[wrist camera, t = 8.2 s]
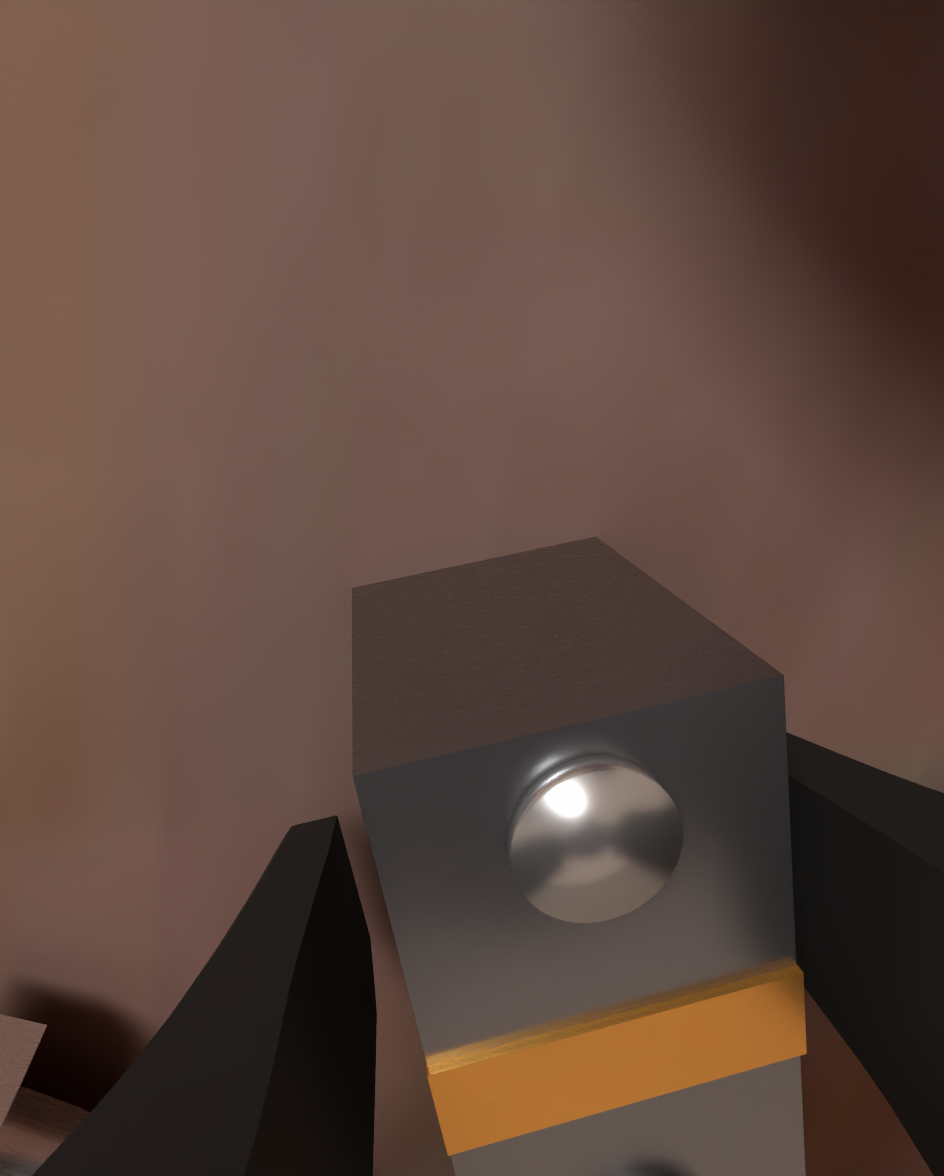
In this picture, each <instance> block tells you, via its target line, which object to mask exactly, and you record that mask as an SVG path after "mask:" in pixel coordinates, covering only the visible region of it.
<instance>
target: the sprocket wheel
mask: <svg viewBox="0 0 944 1176" xmlns="http://www.w3.org/2000/svg"><path fill="white" fill-rule="evenodd" d="M46 1027H47V1025H45V1024H40V1023H36V1022H32V1021H28V1020H23V1019H19V1018H15V1017H10V1016H6V1015H2V1014H0V1176H32V1175H33V1173H34V1172H35V1171H36V1170H37V1169H38V1168H39V1167H40V1166H41V1165H42V1164H43V1163H44V1162H45V1161H46V1159H47V1158H48V1157H49V1156H50V1155H51V1154H52V1153H53V1152H54V1151H55V1150H56V1149H57V1148H58V1147H59V1146H60V1144H61V1143H62V1142H63V1141H64V1140H65V1139H66V1138H67V1137H68V1136H69V1135H70V1134H71V1133H72V1132H73V1131H74V1129H75V1128H76V1127H77V1126H78V1125H79V1124H80V1123H81V1122H82V1121H83V1120H84V1119H85V1118H86V1117H87V1116H88V1114H89V1113H90V1112H88V1111H86V1110H84V1109H82V1108H79V1107H77V1106H74V1105H71V1104H69V1103H66V1102H63V1101H61V1100H58V1099H55V1098H53V1097H50V1096H47V1095H45V1094H42V1093H39V1092H37V1091H34V1090H31V1089H29V1088H25V1087H21V1084H22V1081H23V1079H24V1077H25V1075H26V1072H27V1070H28V1068H29V1066H30V1063H31V1061H32V1059H33V1056H34V1054H35V1052H36V1050H37V1047H38V1045H39V1043H40V1041H41V1038H42V1036H43V1034H44V1031H45V1029H46Z"/></svg>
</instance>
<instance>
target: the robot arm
mask: <svg viewBox="0 0 944 1176" xmlns="http://www.w3.org/2000/svg"><path fill="white" fill-rule="evenodd" d="M786 740H787V763H788V786H789V809H790V832H791V854H792V877H793V900H794V923H795V946H796V964H797V965H798V966H799V968H800V969H801V970H802V972H803V974H804V987H805V988H806V990H807V991H808V992H809V994H810V995H811V996H812V998H813V999H814V1000H815V1002H816V1003H817V1004H818V1006H819V1007H820V1008H821V1010H822V1011H823V1012H824V1014H825V1015H826V1016H827V1018H828V1019H829V1020H830V1022H831V1023H832V1024H833V1026H834V1027H835V1028H836V1030H837V1031H838V1033H839V1034H840V1035H841V1037H842V1038H843V1039H844V1041H845V1042H846V1043H847V1045H848V1046H849V1047H850V1049H851V1050H852V1051H853V1053H854V1054H855V1055H856V1057H857V1058H858V1059H859V1061H860V1062H861V1063H862V1065H863V1066H864V1068H865V1069H866V1070H867V1072H868V1073H869V1075H870V1076H871V1078H872V1079H873V1081H874V1082H875V1083H876V1085H877V1086H878V1088H879V1089H880V1091H881V1092H882V1094H883V1095H884V1097H885V1098H886V1099H887V1101H888V1102H889V1104H890V1105H891V1107H892V1109H893V1110H894V1112H895V1113H896V1115H897V1117H898V1118H899V1120H900V1122H901V1123H902V1125H903V1126H904V1128H905V1130H906V1131H907V1133H908V1135H909V1136H910V1138H911V1139H912V1141H913V1143H914V1144H915V1146H916V1147H917V1149H918V1151H919V1152H920V1154H921V1156H922V1157H923V1159H924V1160H925V1162H926V1164H927V1165H928V1167H929V1168H930V1170H931V1172H932V1173H933V1175H934V1176H944V793H942V792H939V791H936V790H933V789H930V788H927V787H924V786H922V785H919V784H916V783H913V782H911V781H908V780H905V779H903V778H900V777H897V776H895V775H892V774H889V773H887V772H884V771H882V770H879V769H876V768H874V767H871V766H869V765H866V764H864V763H861V762H859V761H856V760H854V759H851V758H849V757H846V756H844V755H841V754H839V753H836V752H834V751H831V750H829V749H826V748H824V747H821V746H819V745H817V744H814V743H812V742H809V741H807V740H804V739H802V738H799V737H797V736H794V735H792V734H789V733H787V732H786ZM376 1021H377V1011H376V998H375V986H374V974H373V963H372V952H371V941H370V935H369V931H368V927H367V924H366V920H365V916H364V913H363V909H362V905H361V902H360V898H359V894H358V891H357V887H356V883H355V879H354V876H353V872H352V868H351V865H350V861H349V857H348V854H347V850H346V846H345V842H344V839H343V835H342V831H341V828H340V824H339V820H338V817H337V815H336V816H332V817H328V818H324V819H320V820H315V821H311V822H307V823H303V824H299V825H295V826H291V828H290V829H289V831H288V832H287V834H286V835H285V837H284V838H283V840H282V842H281V843H280V845H279V847H278V849H277V850H276V852H275V854H274V856H273V857H272V859H271V861H270V863H269V864H268V866H267V868H266V869H265V871H264V873H263V875H262V876H261V878H260V880H259V881H258V883H257V885H256V886H255V888H254V890H253V892H252V893H251V895H250V897H249V898H248V900H247V902H246V903H245V905H244V906H243V908H242V910H241V911H240V913H239V914H238V916H237V918H236V919H235V921H234V922H233V924H232V925H231V927H230V929H229V930H228V932H227V933H226V935H225V937H224V938H223V940H222V941H221V943H220V945H219V946H218V948H217V949H216V951H215V952H214V954H213V955H212V957H211V958H210V960H209V961H208V962H207V964H206V965H205V967H204V968H203V970H202V971H201V972H200V974H199V975H198V977H197V978H196V980H195V981H194V982H193V984H192V985H191V987H190V988H189V990H188V991H187V992H186V994H185V995H184V997H183V998H182V1000H181V1001H180V1002H179V1004H178V1005H177V1007H176V1008H175V1010H174V1011H173V1012H172V1014H171V1015H170V1016H169V1018H168V1019H167V1020H166V1022H165V1023H164V1024H163V1026H162V1027H161V1028H160V1030H159V1031H158V1032H157V1034H156V1035H155V1036H154V1037H153V1039H152V1040H151V1041H150V1043H149V1044H148V1045H147V1046H146V1048H145V1049H144V1050H143V1051H142V1052H141V1054H140V1055H139V1056H138V1057H137V1058H136V1060H135V1061H134V1062H133V1063H132V1064H131V1066H130V1067H129V1068H128V1069H127V1070H126V1072H125V1073H124V1074H123V1075H122V1076H121V1078H120V1079H119V1080H118V1081H117V1082H116V1084H115V1085H114V1086H113V1087H112V1089H111V1090H110V1091H109V1092H108V1093H107V1094H106V1095H105V1097H104V1098H103V1099H102V1100H101V1101H100V1102H99V1103H98V1105H97V1106H96V1107H95V1108H94V1109H93V1110H92V1111H91V1112H90V1113H89V1114H88V1116H87V1117H86V1118H85V1119H84V1120H83V1121H82V1122H81V1123H80V1124H79V1125H78V1126H77V1127H76V1128H75V1129H74V1131H73V1132H72V1133H71V1134H70V1135H69V1136H68V1137H67V1138H66V1139H65V1140H64V1141H63V1142H62V1143H61V1144H60V1146H59V1147H58V1148H57V1149H56V1150H55V1151H54V1152H53V1153H52V1154H51V1155H50V1156H49V1157H48V1158H47V1159H46V1161H45V1162H44V1163H43V1164H42V1165H41V1166H40V1167H39V1168H38V1169H37V1170H36V1171H35V1172H34V1173H33V1175H32V1176H373V1144H374V1107H375V1068H376Z"/></svg>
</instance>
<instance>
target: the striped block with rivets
mask: <svg viewBox="0 0 944 1176" xmlns="http://www.w3.org/2000/svg"><path fill="white" fill-rule="evenodd" d="M352 702H353V779H354V783H355V787H356V791H357V795H358V798H359V802H360V806H361V810H362V814H363V818H364V822H365V826H366V829H367V833H368V837H369V841H370V845H371V849H372V853H373V857H374V861H375V864H376V868H377V872H378V876H379V880H380V884H381V888H382V892H383V895H384V899H385V903H386V907H387V911H388V915H389V919H390V923H391V927H392V930H393V934H394V938H395V942H396V946H397V950H398V954H399V958H400V962H401V965H402V969H403V973H404V977H405V981H406V985H407V989H408V993H409V996H410V1000H411V1004H412V1008H413V1012H414V1016H415V1020H416V1024H417V1028H418V1031H419V1035H420V1039H421V1043H422V1047H423V1051H424V1055H425V1059H426V1069H427V1077H428V1081H429V1085H430V1089H431V1092H432V1096H433V1100H434V1104H435V1108H436V1112H437V1116H438V1119H439V1123H440V1127H441V1131H442V1135H443V1139H444V1143H445V1146H446V1150H447V1154H448V1156H451V1160H452V1163H453V1167H454V1171H455V1175H456V1176H806V1174H805V1151H804V1128H803V1105H802V1083H801V1060H800V1055H804V1054H807V1048H806V1023H805V998H804V974H803V972H802V970H801V969H800V968H799V966H798V965H797V964H796V946H795V923H794V900H793V877H792V854H791V832H790V809H789V786H788V763H787V740H786V717H785V695H784V675H783V674H781V673H780V672H779V671H777V670H776V669H775V668H773V667H772V666H770V665H769V664H768V663H766V662H765V661H764V660H762V659H761V658H760V657H758V656H757V655H756V654H754V653H753V652H751V651H750V650H749V649H747V648H746V647H745V646H743V645H742V644H741V643H739V642H738V641H736V640H735V639H734V638H732V637H731V636H730V635H728V634H727V633H726V632H724V631H723V630H722V629H720V628H719V627H717V626H716V625H715V624H713V623H712V622H711V621H709V620H708V619H707V618H705V617H704V616H703V615H701V614H700V613H698V612H697V611H696V610H694V609H693V608H692V607H690V606H689V605H688V604H686V603H685V602H684V601H682V600H681V599H679V598H678V597H677V596H675V595H674V594H673V593H671V592H670V591H669V590H667V589H666V588H665V587H663V586H662V585H660V584H659V583H658V582H656V581H655V580H654V579H652V578H651V577H650V576H648V575H647V574H646V573H644V572H643V571H641V570H640V569H639V568H637V567H636V566H635V565H633V564H632V563H631V562H629V561H628V560H626V559H625V558H624V557H622V556H621V555H620V554H618V553H617V552H616V551H614V550H613V549H612V548H610V547H609V546H607V545H606V544H605V543H603V542H602V541H601V540H599V539H598V538H597V537H592V538H587V539H583V540H578V541H573V542H568V543H564V544H559V545H554V546H549V547H545V548H540V549H535V550H530V551H526V552H521V553H516V554H511V555H507V556H502V557H497V558H492V559H488V560H483V561H478V562H473V563H469V564H464V565H459V566H454V567H450V568H445V569H440V570H435V571H431V572H426V573H421V574H417V575H412V576H407V577H402V578H398V579H393V580H388V581H383V582H379V583H374V584H369V585H364V586H360V587H355V588H352Z"/></svg>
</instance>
